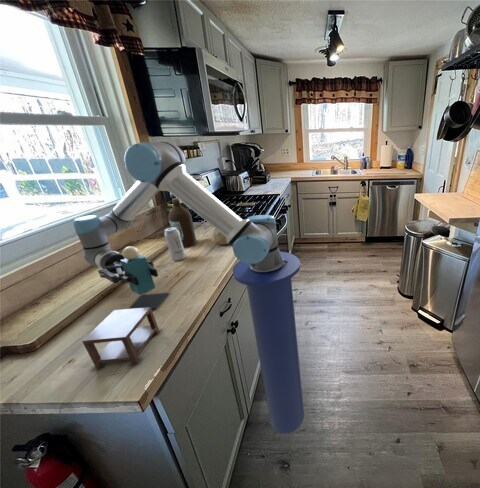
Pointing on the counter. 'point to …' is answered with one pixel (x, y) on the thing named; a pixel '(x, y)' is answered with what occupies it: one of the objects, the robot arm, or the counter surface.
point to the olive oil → (182, 223)
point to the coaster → (149, 301)
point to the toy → (137, 270)
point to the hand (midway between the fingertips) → (146, 277)
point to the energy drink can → (174, 243)
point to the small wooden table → (121, 336)
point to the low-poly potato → (220, 237)
